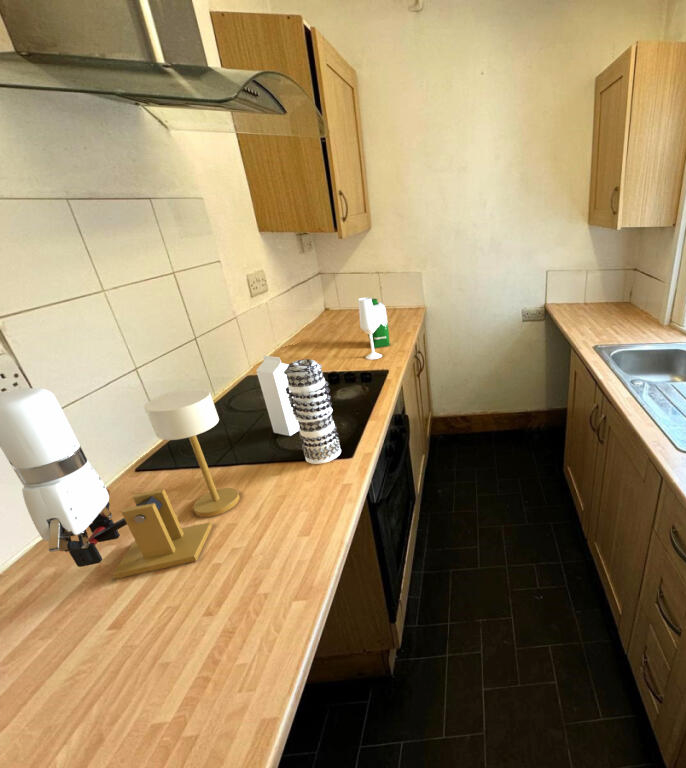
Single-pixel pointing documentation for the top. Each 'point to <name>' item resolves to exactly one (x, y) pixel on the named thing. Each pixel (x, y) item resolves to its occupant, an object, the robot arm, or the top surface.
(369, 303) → the champagne flute
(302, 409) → the decorative candle
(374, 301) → the milk carton
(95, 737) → the top surface
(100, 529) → the switch lever
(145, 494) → the switch bracket
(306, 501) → the top surface
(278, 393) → the milk
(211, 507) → the table lamp
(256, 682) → the top surface
